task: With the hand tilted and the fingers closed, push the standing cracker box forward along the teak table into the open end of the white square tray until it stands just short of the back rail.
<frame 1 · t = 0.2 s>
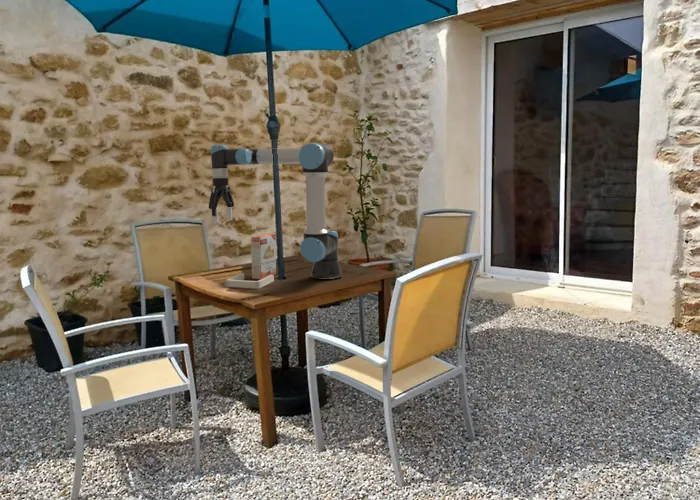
hand: (222, 221, 286), 28 cm above the table, tool pointing down, fingers open, 13 cm apart
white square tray: (249, 283, 275), on the table
cracker box: (264, 277, 291), on the table
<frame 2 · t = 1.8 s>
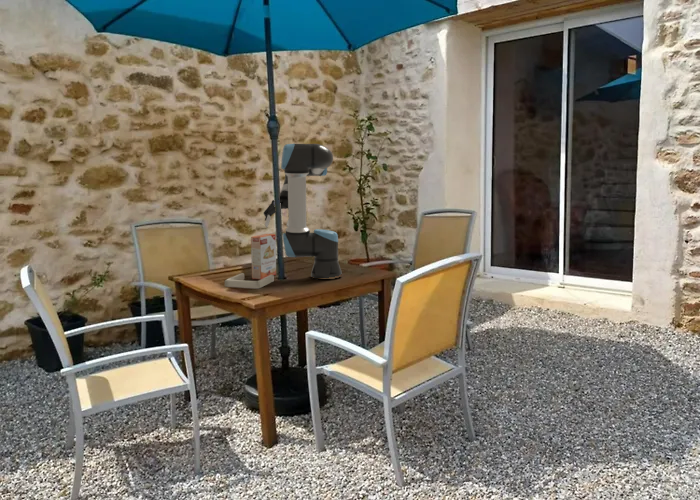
hand: (276, 226, 303), 23 cm above the table, tool tilted 45°, fingers open, 11 cm apart
nothing on the table moved.
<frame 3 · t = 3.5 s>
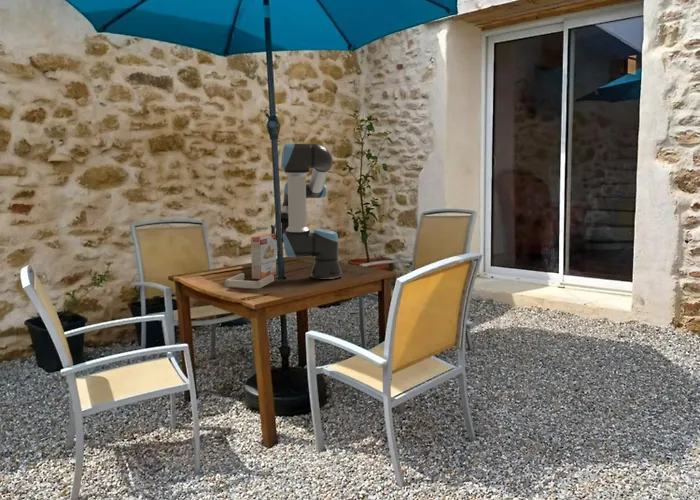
hand: (274, 252, 302), 10 cm above the table, tool tilted 45°, fingers closed
nothing on the table moved.
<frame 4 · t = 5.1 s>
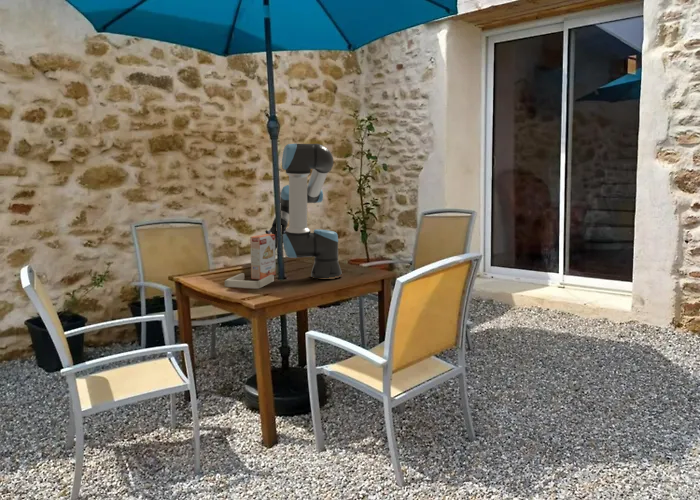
hand: (268, 258, 297), 8 cm above the table, tool tilted 45°, fingers closed
cracker box: (263, 277, 290), on the table, touching gripper
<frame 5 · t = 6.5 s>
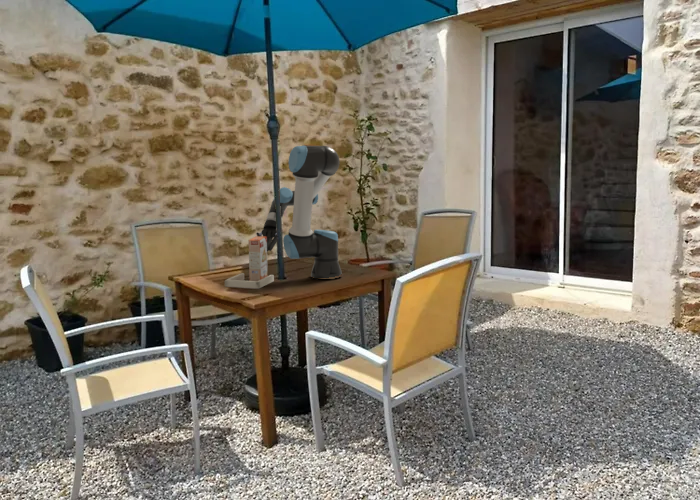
hand: (259, 261, 288), 8 cm above the table, tool tilted 45°, fingers closed
cracker box: (259, 281, 281), on the table, touching gripper
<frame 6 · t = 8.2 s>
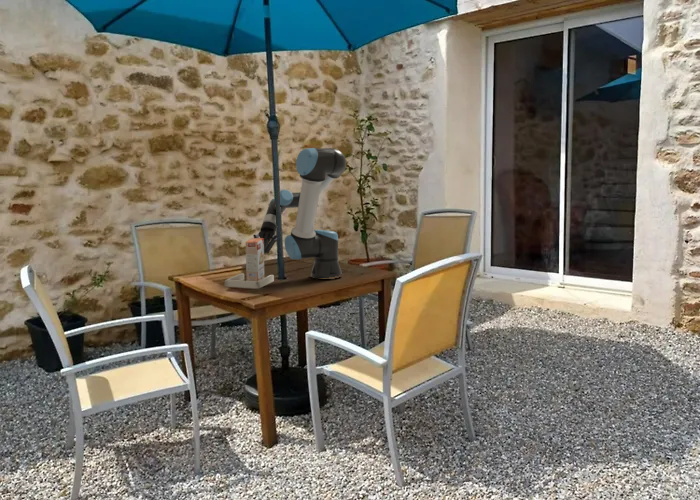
hand: (256, 263, 281), 8 cm above the table, tool tilted 45°, fingers closed
cracker box: (256, 284, 274), on the table, touching gripper, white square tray
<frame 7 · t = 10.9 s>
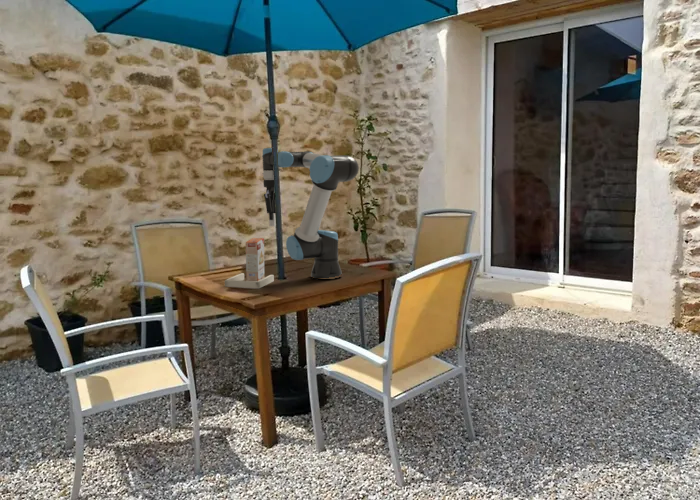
hand: (272, 226, 298), 24 cm above the table, tool pointing down, fingers closed
cracker box: (256, 284, 274), on the table
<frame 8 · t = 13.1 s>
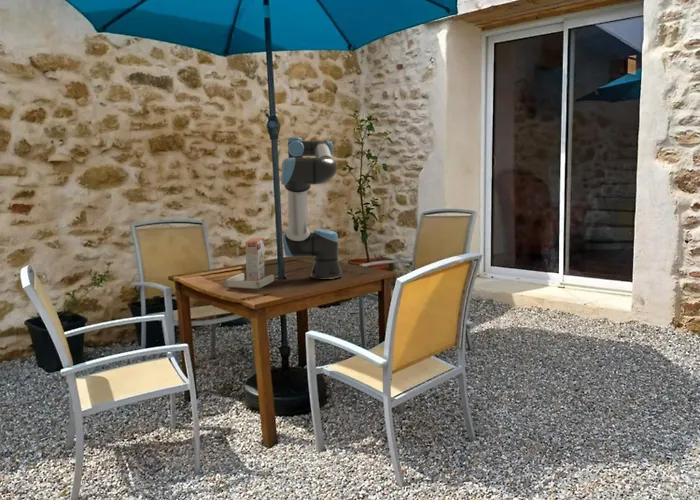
hand: (296, 213, 307), 29 cm above the table, tool pointing down, fingers closed
nothing on the table moved.
at the end: cracker box inside the target area (3.1 cm from its centre), on the table; cracker box tilted 0°; cracker box moved 16.4 cm from its start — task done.
